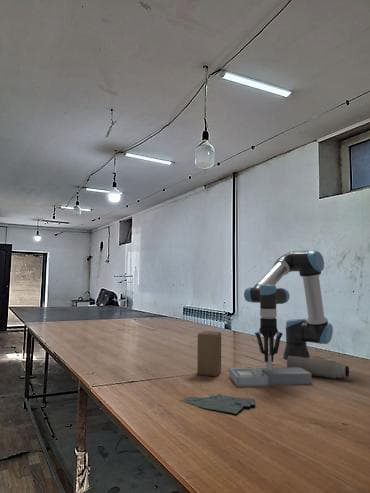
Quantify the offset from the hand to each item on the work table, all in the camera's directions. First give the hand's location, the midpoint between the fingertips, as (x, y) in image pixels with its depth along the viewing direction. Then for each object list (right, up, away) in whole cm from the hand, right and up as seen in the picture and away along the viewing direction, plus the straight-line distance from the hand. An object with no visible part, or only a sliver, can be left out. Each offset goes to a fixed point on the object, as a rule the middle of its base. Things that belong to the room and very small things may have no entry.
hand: (269, 369), depth 170 cm
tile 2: (-4, -2, -1) cm, 5 cm away
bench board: (+7, -5, 0) cm, 9 cm away
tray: (-10, -5, -2) cm, 11 cm away
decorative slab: (-25, -3, -34) cm, 42 cm away
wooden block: (-27, -6, +12) cm, 30 cm away
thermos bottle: (+14, -3, +17) cm, 23 cm away
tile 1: (-11, -1, -2) cm, 11 cm away
